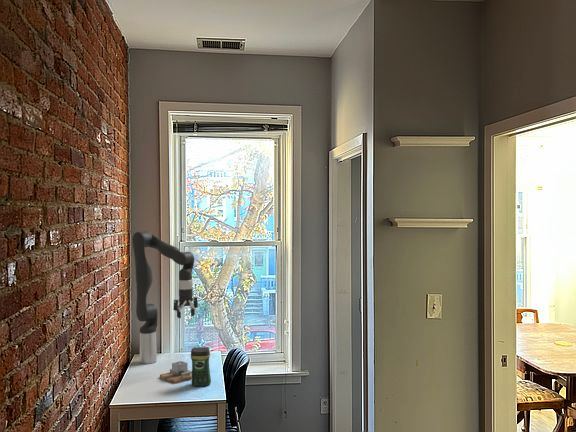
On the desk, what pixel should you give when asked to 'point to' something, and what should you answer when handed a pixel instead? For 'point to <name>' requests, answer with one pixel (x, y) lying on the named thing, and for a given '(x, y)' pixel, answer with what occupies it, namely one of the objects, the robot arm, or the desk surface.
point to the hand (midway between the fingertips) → (185, 317)
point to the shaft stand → (175, 379)
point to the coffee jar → (200, 366)
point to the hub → (179, 368)
